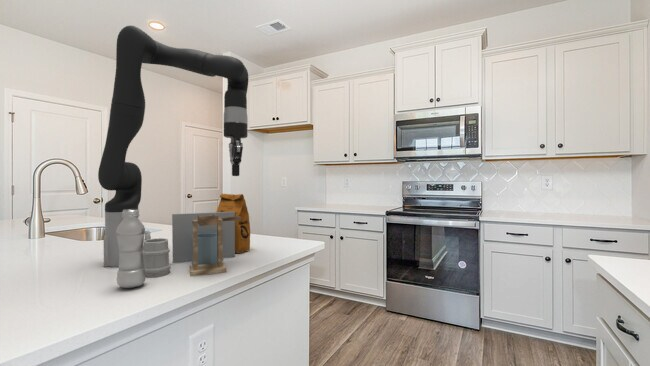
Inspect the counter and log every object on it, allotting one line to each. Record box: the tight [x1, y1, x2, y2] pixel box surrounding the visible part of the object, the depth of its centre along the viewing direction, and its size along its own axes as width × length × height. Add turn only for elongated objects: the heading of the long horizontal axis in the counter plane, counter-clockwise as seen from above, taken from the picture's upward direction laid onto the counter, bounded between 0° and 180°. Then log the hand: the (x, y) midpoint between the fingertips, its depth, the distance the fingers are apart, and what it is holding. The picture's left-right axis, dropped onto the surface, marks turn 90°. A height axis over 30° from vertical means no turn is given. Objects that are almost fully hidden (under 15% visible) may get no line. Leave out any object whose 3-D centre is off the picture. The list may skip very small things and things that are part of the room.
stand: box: [189, 218, 227, 277], centre depth 97 cm, size 10×7×16 cm
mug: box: [143, 230, 172, 278], centre depth 95 cm, size 8×12×12 cm, turn 51°
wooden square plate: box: [198, 214, 241, 226], centre depth 99 cm, size 13×13×3 cm
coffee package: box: [216, 193, 251, 254], centre depth 123 cm, size 10×12×22 cm
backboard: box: [171, 211, 236, 264], centre depth 110 cm, size 20×1×16 cm, turn 114°
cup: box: [190, 233, 217, 266], centre depth 106 cm, size 9×9×9 cm
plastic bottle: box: [116, 208, 147, 289], centre depth 83 cm, size 6×7×20 cm
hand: (235, 176), depth 105 cm, fingers closed
